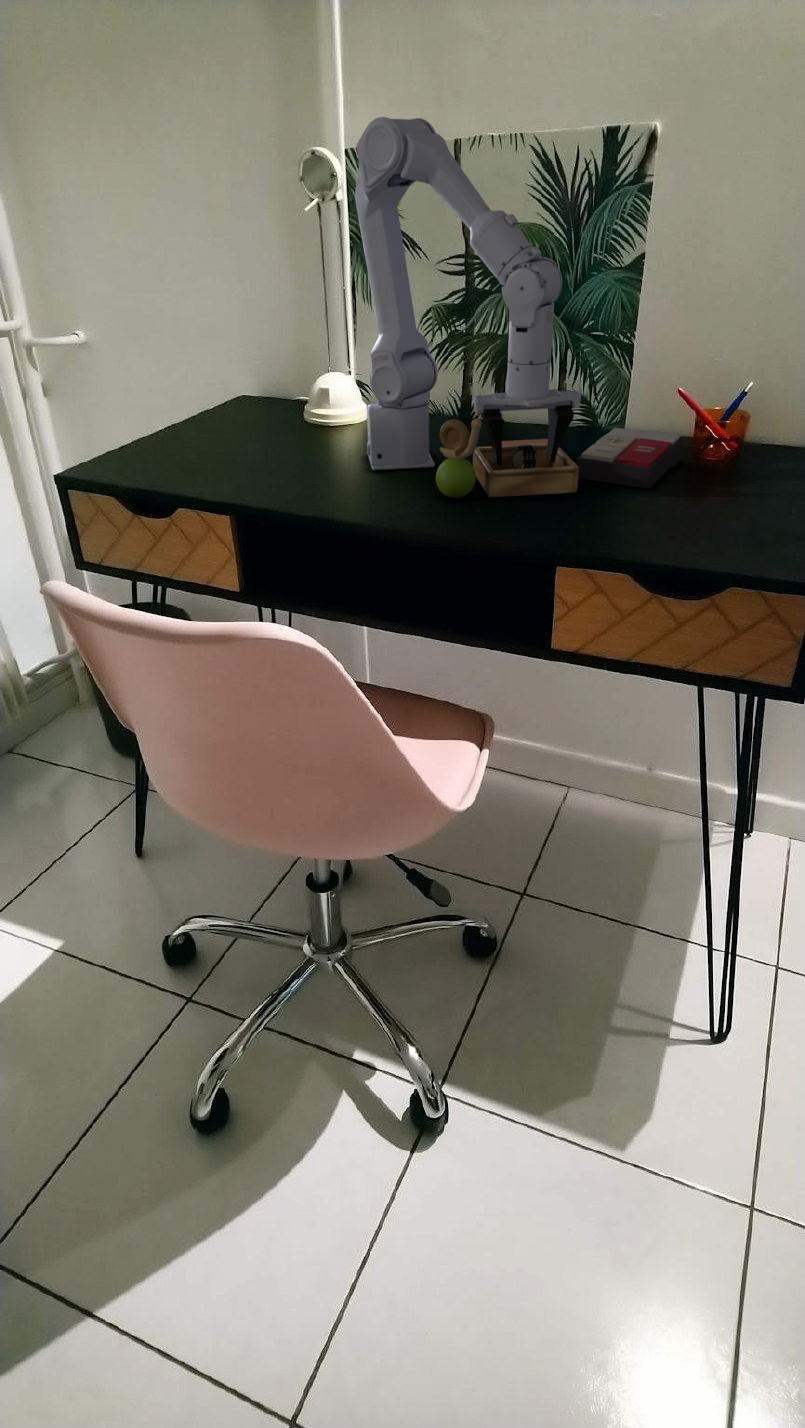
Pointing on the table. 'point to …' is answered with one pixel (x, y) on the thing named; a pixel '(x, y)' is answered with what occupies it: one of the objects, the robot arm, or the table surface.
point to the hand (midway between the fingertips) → (524, 462)
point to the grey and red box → (630, 457)
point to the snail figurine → (457, 457)
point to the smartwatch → (524, 457)
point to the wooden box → (525, 473)
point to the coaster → (525, 442)
